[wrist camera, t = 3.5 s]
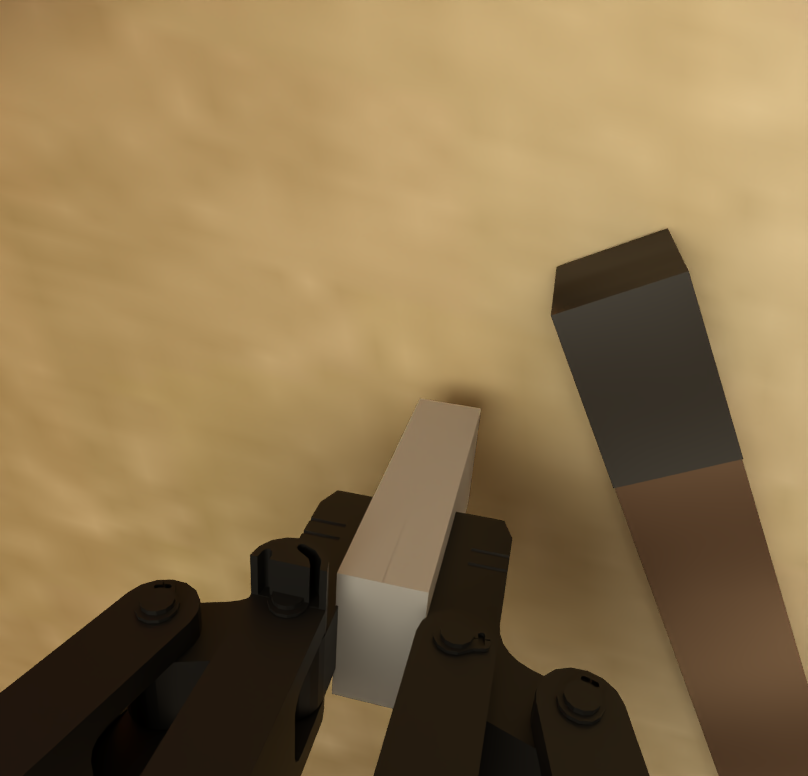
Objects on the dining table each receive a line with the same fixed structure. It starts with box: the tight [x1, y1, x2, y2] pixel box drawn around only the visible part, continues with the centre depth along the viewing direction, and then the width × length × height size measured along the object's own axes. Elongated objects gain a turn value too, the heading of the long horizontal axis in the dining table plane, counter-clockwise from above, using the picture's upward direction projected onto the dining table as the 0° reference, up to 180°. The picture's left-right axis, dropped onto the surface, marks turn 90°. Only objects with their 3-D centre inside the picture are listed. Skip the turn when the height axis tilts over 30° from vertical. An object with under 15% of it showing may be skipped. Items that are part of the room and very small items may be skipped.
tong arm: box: [551, 228, 808, 776], centre depth 18 cm, size 24×2×4 cm, turn 24°
